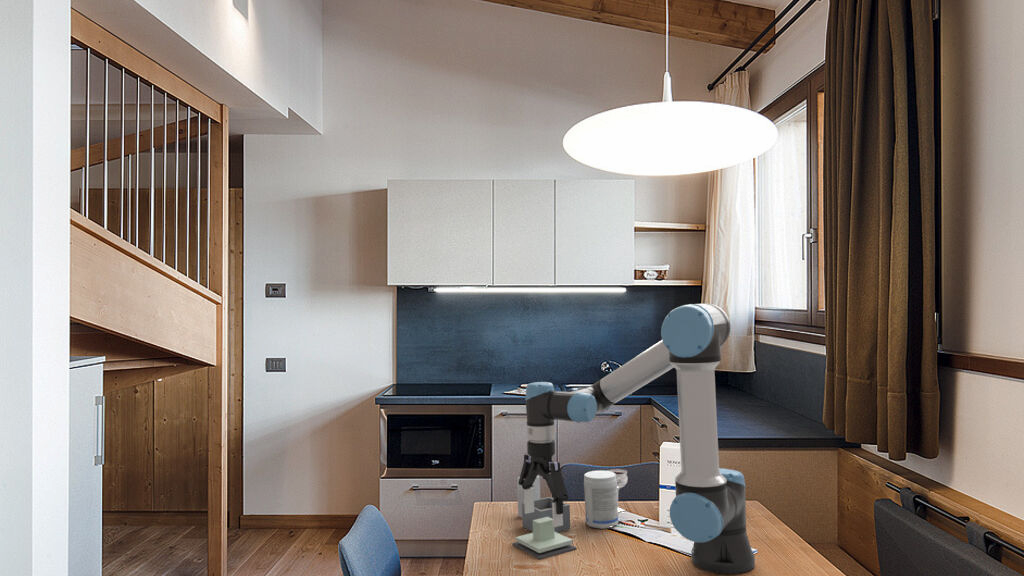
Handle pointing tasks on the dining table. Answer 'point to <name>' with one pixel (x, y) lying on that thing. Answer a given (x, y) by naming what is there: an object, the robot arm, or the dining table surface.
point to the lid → (543, 537)
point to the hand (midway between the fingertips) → (543, 519)
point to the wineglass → (620, 481)
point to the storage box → (545, 514)
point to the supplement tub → (601, 499)
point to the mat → (544, 554)
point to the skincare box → (521, 493)
